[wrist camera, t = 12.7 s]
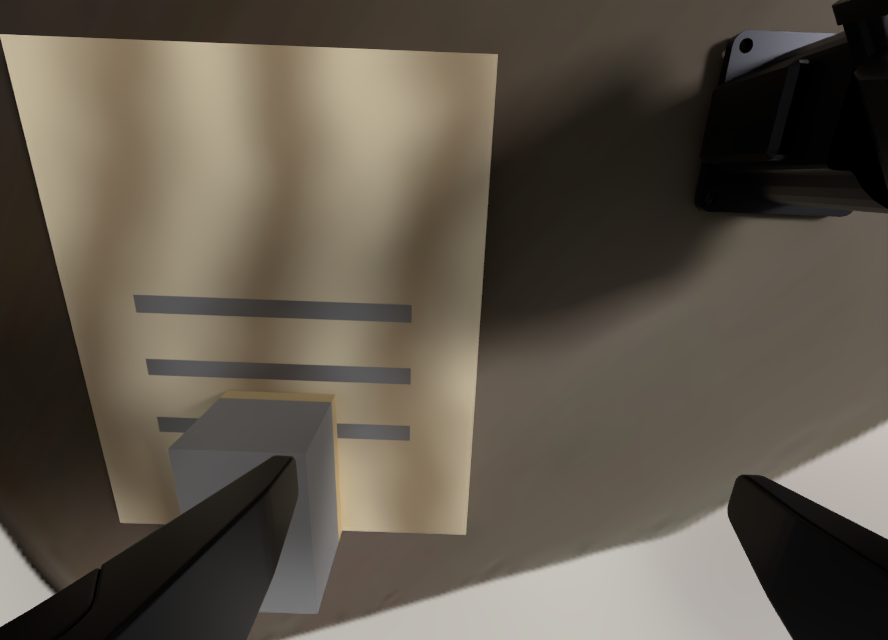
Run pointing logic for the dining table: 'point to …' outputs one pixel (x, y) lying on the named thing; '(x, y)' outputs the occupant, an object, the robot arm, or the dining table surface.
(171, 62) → the plywood board
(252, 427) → the block
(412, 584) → the dining table surface
